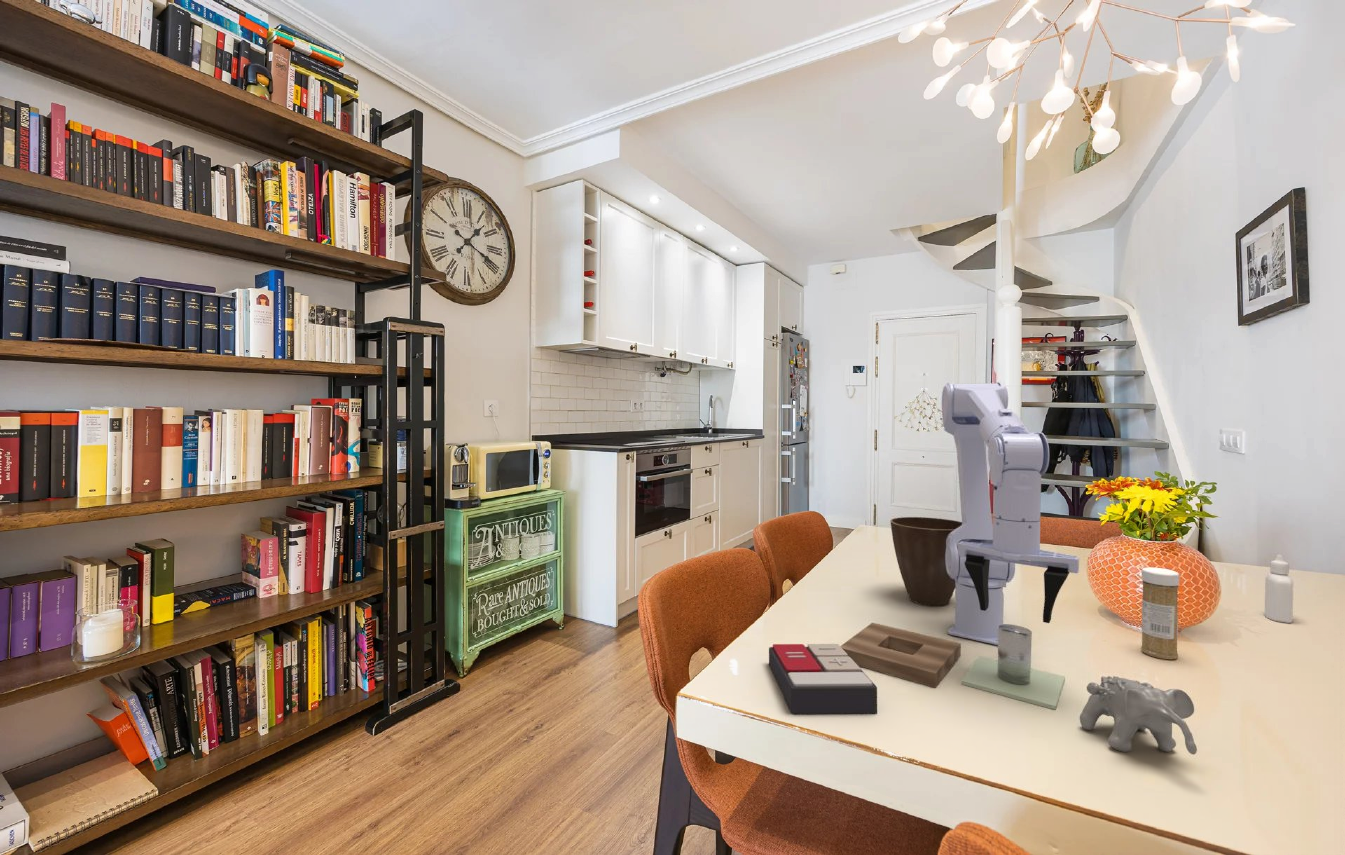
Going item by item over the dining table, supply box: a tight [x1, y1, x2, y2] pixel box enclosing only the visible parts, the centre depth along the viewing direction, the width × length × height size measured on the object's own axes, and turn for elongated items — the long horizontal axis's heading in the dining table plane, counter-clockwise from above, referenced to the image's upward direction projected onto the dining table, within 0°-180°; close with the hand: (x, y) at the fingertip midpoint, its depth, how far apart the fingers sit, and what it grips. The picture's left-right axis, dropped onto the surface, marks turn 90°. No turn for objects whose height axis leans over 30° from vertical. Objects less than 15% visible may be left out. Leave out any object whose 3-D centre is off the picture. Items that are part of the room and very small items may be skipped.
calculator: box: [768, 643, 878, 716], centre depth 80 cm, size 11×4×15 cm
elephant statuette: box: [1079, 675, 1198, 755], centre depth 65 cm, size 9×12×8 cm
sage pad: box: [961, 655, 1066, 711], centre depth 81 cm, size 11×11×1 cm
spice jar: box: [1140, 566, 1180, 660], centre depth 91 cm, size 5×5×14 cm
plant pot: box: [889, 516, 962, 607], centre depth 118 cm, size 15×15×16 cm
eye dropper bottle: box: [1264, 554, 1294, 624], centre depth 108 cm, size 4×6×12 cm
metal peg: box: [997, 623, 1033, 685], centre depth 81 cm, size 4×4×7 cm
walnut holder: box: [839, 622, 962, 689], centre depth 89 cm, size 14×14×2 cm
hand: (1014, 614), depth 81 cm, fingers open, 7 cm apart
